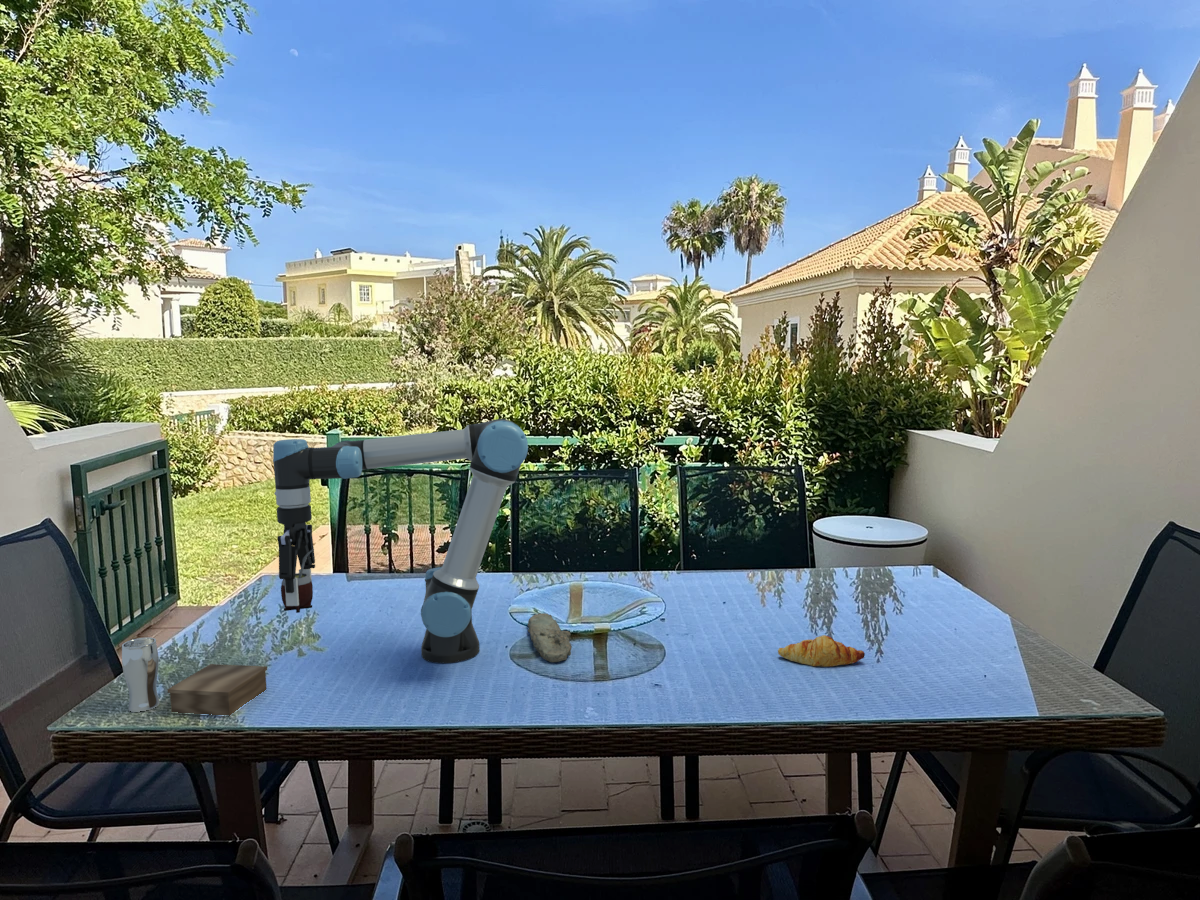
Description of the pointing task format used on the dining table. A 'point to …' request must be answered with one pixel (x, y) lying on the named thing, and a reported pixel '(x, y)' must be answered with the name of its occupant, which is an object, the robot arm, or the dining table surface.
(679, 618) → the dining table surface
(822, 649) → the croissant
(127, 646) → the beer glass
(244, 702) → the walnut box
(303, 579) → the mate gourd
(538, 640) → the elongated rock
